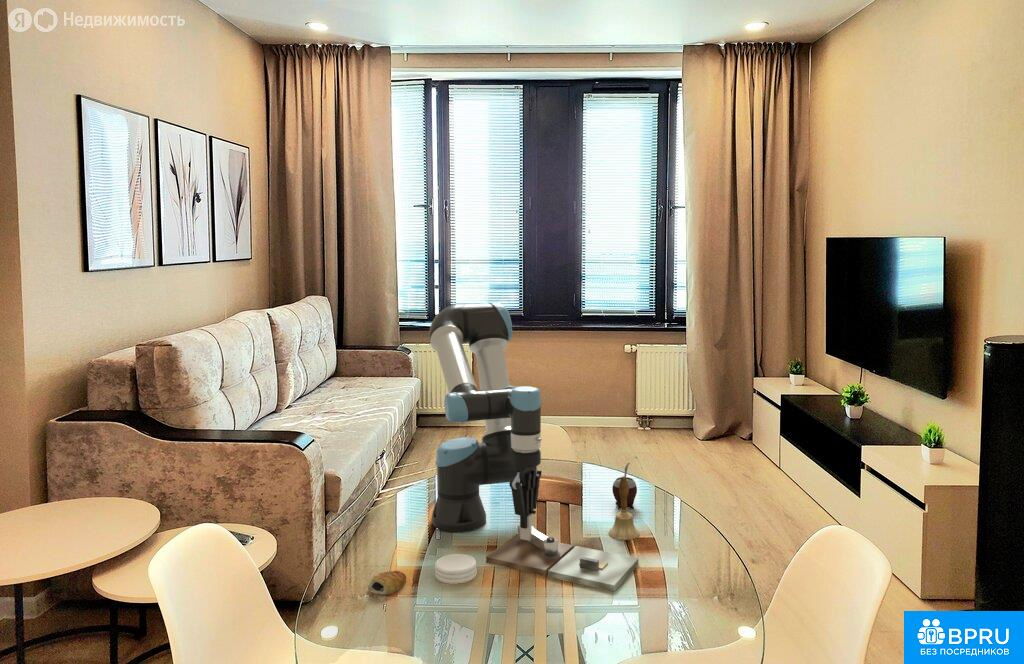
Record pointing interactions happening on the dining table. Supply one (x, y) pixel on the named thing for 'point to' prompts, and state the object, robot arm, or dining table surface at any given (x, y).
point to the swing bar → (543, 542)
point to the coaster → (455, 568)
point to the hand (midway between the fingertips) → (525, 538)
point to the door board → (566, 563)
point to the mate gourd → (631, 492)
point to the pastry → (387, 582)
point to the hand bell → (623, 517)
